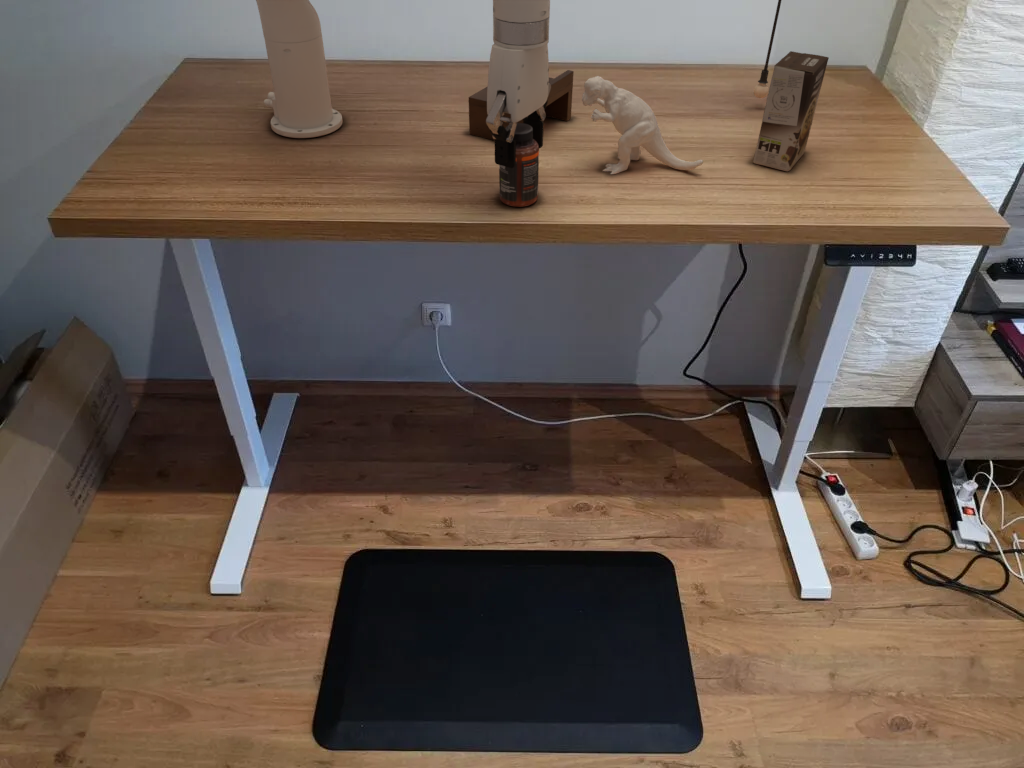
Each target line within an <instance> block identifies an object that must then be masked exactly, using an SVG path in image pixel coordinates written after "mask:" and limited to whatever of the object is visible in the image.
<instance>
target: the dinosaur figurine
mask: <svg viewBox="0 0 1024 768" xmlns="http://www.w3.org/2000/svg"><path fill="white" fill-rule="evenodd" d="M583 89H584V92H582V95H581V101H582V105H583V106H584V107H588V106H589V107H592V106H593V105H594V104H595V105H599V106H601V107H602V108H604V110H605V112H602V111H600V110H599V109H597V108H594V110H592V113H591V116H590V118H591V120H592V122H594V123H596V122H598V121H601V120H602V121H605V122H608V123H612V124H613V127H614V128H615V130H616V131H617V132H618V134H620V135H621V136H620V137H619V139H618V142H617V146H618V147H617V155H618V156H617V157H616V159H618V160H619V161H618V162H617V163H607V164H605V167H604V168H603V169H602V172H610V173H609V174H610V175H616V174H619V173H621V172H624V171H627V170H628V168H629V165H630V163H631V161H638V160H640V157H641V155H642V149H641V148H643V149H645V151H646V152H647V153H649V154H650V155H651V156H652V157H653V158H655V159H656V160H658V161H659V162H660V163H662V164H664V165H666V166H668V167H669V168H673V169H675V170H678V171H679V170H680V171H692V170H695V169H697V168H698V167H701V166H702V165H703V163H704V160H703V159H697V160H695V161H687V160H684V159H680V158H678V157H677V156H676V155H675V154H674V153H672V152H671V150H670V148H668V146H667V144H666V142H665V140H664V138H663V135H662V132H661V128H660V127H659V123H658V119H657V117H656V114H655V112H654V111H653V109H652V107H651V106H650V105H649V104H648V103H647V102H646V101H645V100H644V99H642V98H641V97H639V96H638V95H635V93H633V92H631V91H629V90H628V89H624V88H622V87H618V86H617V85H615V84H614V83H613V82H612V81H611V80H608V79H604V78H603V77H602V76H600V75H596V76H593V77H589V78H588V79H587V80H585V82H584V85H583ZM602 99H603V100H602Z"/></svg>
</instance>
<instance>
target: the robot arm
mask: <svg viewBox="0 0 1024 768" xmlns="http://www.w3.org/2000/svg"><path fill="white" fill-rule="evenodd" d="M255 2H256V6H257V9H258V15H259V19H260V24H261V29H262V34H263V38H264V43H265V44H264V45H265V50H266V55H267V62H268V66H269V67H268V68H269V73H270V76H271V83H272V88H273V89H272V90H273V91H269V92H268V93H267V98H265V99H264V100H263V105H264V107H266V108H270V109H272V110H273V114H274V115H273V116H272V117H271V119H270V122H269V123H270V127H271V130H272V131H273V132H274V133H276V134H277V135H279V136H283V137H285V138H291V139H310V138H316V137H323V136H325V135H329V134H331V133H334V132H335V131H337V130H338V129H340V128H341V127H342V126H343V123H344V122H343V116H342V113H340V111H338V110H337V109H335V108H333V105H332V99H331V98H332V97H331V91H330V82H329V76H328V70H327V69H328V68H327V62H326V53H325V46H324V40H323V32H322V27H321V26H322V25H321V21H320V17H319V14H318V11H316V9H315V7H314V5H313V4H312V3H311V1H310V0H255ZM550 16H551V0H492V40H493V44H492V45H491V49H490V54H489V61H488V73H487V86H488V87H487V86H486V87H487V114H488V117H487V119H486V124H487V125H488V127H489V129H490V132H491V133H492V137H493V139H495V140H494V163H495V165H498V166H499V165H501V166H505V167H509V168H513V167H515V165H516V141H515V140H513V137H514V133H515V129H516V125H517V122H518V121H520V120H522V119H523V123H524V124H528V125H530V126H531V127H532V128H533V137H532V138H533V139H534V140H535V141H536V142H537V143H538V146H539V149H541V148H542V147H543V146H544V126H545V125H544V124H545V123H544V121H545V119H546V117H547V116H546V114H545V108H546V105H547V104H548V103H547V102H548V100H547V98H548V95H549V92H550V89H551V85H550V83H549V78H550V69H549V68H550V63H549V62H550V60H549V46H548V45H549V41H550ZM504 113H508V114H511V118H508V117H504ZM526 117H528V118H526ZM503 122H507V123H510V124H509V128H508V131H507V130H506V129H505V128H504V127H503V126H502V124H503Z"/></svg>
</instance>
